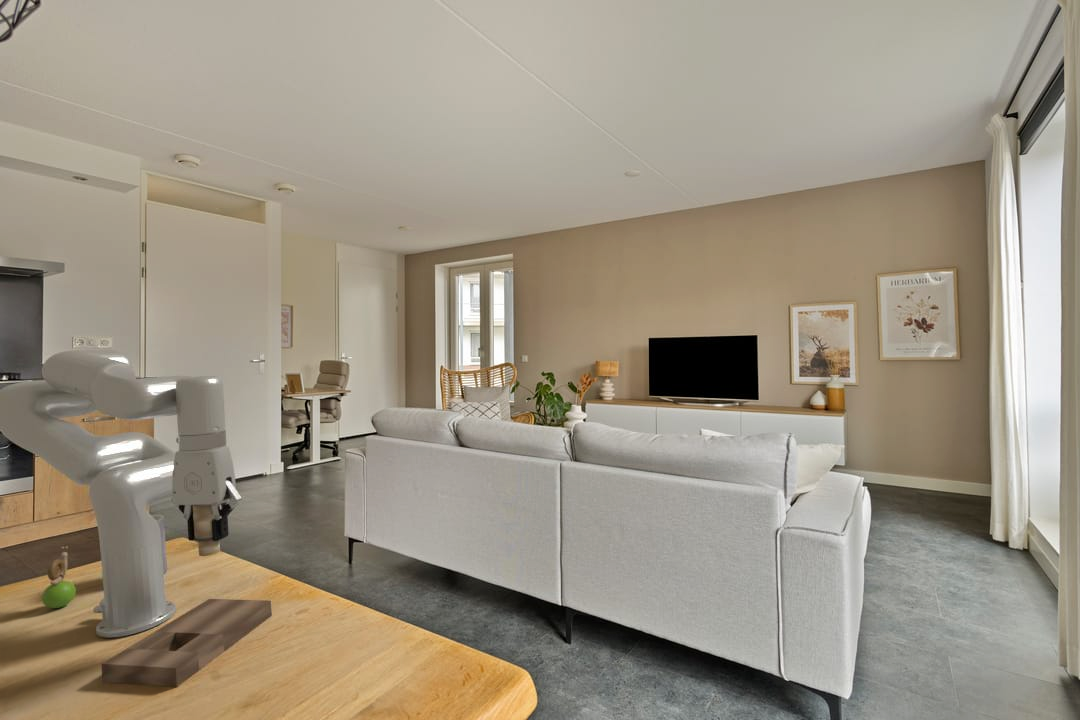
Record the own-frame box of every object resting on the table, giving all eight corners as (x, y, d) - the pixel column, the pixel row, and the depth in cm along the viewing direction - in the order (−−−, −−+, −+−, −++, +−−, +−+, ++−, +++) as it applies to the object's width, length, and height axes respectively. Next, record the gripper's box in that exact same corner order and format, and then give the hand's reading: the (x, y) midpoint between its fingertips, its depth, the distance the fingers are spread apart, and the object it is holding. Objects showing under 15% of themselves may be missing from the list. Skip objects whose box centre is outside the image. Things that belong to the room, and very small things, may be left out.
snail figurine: (84, 596, 119) (79, 544, 118) (68, 609, 113) (64, 554, 112) (54, 601, 117) (49, 548, 117) (37, 615, 111) (32, 558, 111)
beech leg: (189, 556, 98) (186, 503, 98) (208, 547, 102) (205, 496, 102) (210, 557, 97) (207, 503, 97) (229, 548, 101) (226, 496, 101)
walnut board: (102, 682, 85) (101, 663, 85) (210, 613, 107) (209, 598, 107) (177, 686, 83) (175, 668, 83) (271, 615, 105) (270, 600, 104)
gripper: (146, 446, 97) (152, 544, 97) (227, 445, 94) (233, 547, 94) (181, 439, 104) (186, 530, 105) (256, 438, 101) (262, 532, 102)
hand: (208, 537), depth 100 cm, fingers closed on beech leg, 4 cm apart
